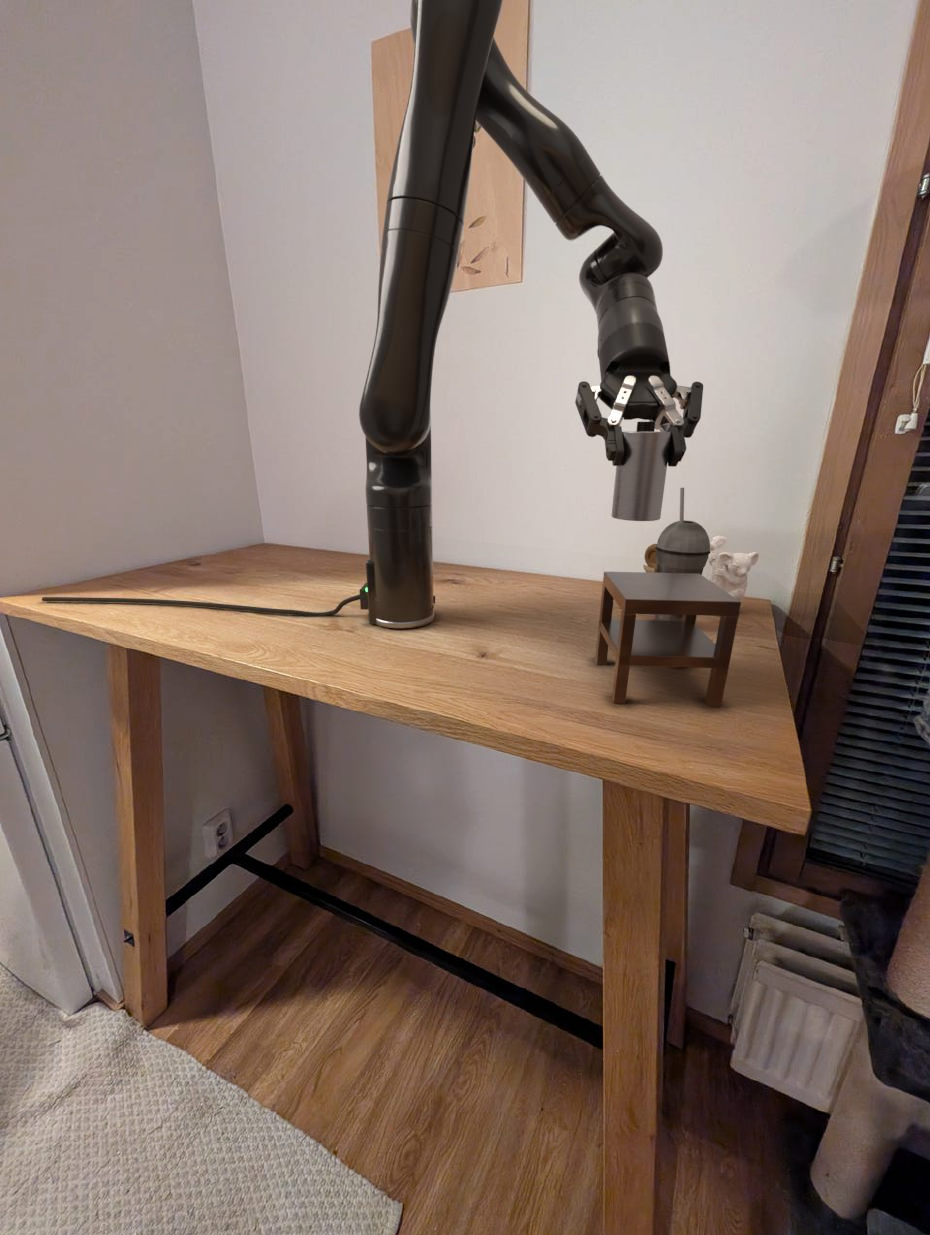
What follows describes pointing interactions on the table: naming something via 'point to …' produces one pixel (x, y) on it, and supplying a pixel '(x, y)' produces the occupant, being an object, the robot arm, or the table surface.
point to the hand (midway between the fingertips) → (647, 460)
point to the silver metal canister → (641, 474)
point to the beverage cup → (681, 550)
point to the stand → (665, 627)
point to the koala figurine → (730, 567)
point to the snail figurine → (650, 559)
